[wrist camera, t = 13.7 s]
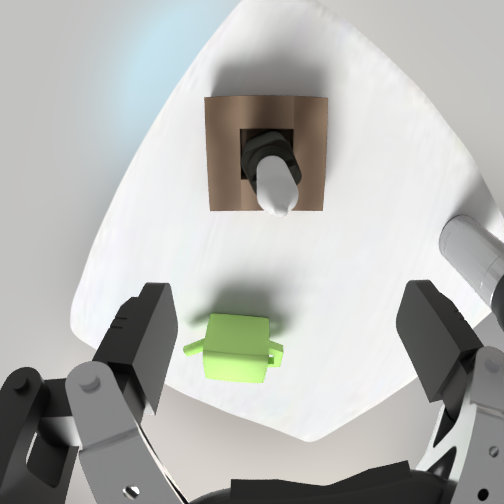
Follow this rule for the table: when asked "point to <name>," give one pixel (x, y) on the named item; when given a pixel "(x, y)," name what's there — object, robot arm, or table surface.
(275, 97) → the holder
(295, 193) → the candle
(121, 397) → the robot arm
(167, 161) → the table surface
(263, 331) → the green square pitcher
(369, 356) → the table surface
